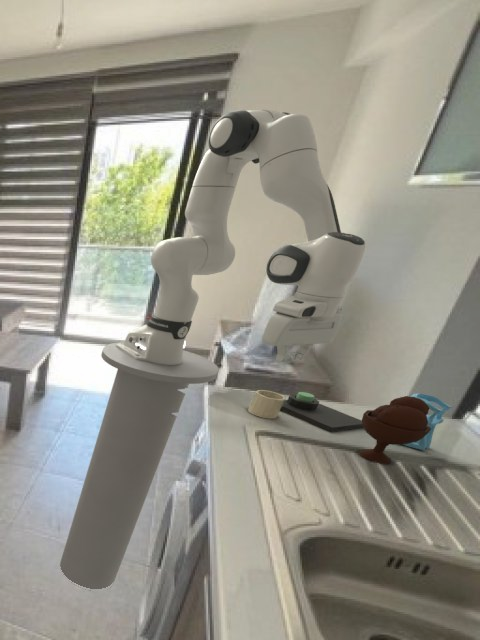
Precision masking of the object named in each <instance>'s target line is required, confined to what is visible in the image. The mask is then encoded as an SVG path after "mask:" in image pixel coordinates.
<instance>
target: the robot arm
mask: <svg viewBox="0 0 480 640" xmlns="http://www.w3.org/2000/svg"><path fill="white" fill-rule="evenodd" d="M208 148H209V149H208V150H207V151H206V152H205V154H204V156H203V157H202V160H201V162H200V164H199V166H198V169H197V171H196V174H195V177H194V179H193V182H192V185H191V186H192V187H191V189H190V193H189V196H188V199H187V203H186V207H185V210H184V216H185V219H186V220H187V221H188V222H189V223H190V224H191V228H192V237H187V236H186V237H184V236H178V237H172V238H167V239H164V240H162V241H159V242H158V243H157V245H156V246H155V247H154V249H153V250H152V253H151V257H150V263H151V266H152V269H153V270H154V271H155V272H156V274H157V275H158V279H159V295H158V299H157V303H156V306H155V309H154V313H153V314H152V315H147V317H145V320H147V322H146V324H143V325H142V326H140V327H137V328H135V329H132V330H131V331H129V332H128V334H127V335H126V337H125V339H124V341H122V342H123V343H118V342H117V343H118V344H117V345H116V347H117V348H118V349H120V350H121V351H123V352H125V353H126V354H128V355H129V356H131V357H132V358H134V359H136V360H139V361H147V362H151V363H156V364H163V365H178V364H181V363H182V354H183V350H184V349H185V348H186V338H187V335H188V333H189V332H190V330H191V326H192V324H193V321H192V319H193V316H194V313H195V311H196V307H197V305H198V302H199V294H198V292H197V290H195V289H193V285H192V280H193V276H210V275H215V274H219V273H222V272H225V271H226V270H227V269H229V268H230V267H231V265H232V264H233V262H234V260H235V257H236V248H235V246H234V244H233V242H232V241H231V240H230V237H229V232H228V216H229V211H230V208H231V204H232V201H233V198H234V195H235V191H236V187H237V185H238V181H239V178H240V175H241V172H242V170H243V169H244V167H245V166H246V165H247V164H248V163H250V162H252V163H253V164H254V165H255V164H259V180H260V185H261V189H262V192H263V194H264V195H265V197H267V198H268V199H270V200H271V201H273V202H276V203H278V204H280V205H283V206H285V207H287V208H289V209H291V210H292V211H294V212H295V213H297V214H298V215H299V217H300V218H301V219H302V221H303V225H304V229H305V234H306V238H307V241H304V242H300V243H293V244H287V245H284V246H281V247H279V248H278V249H277V250H275V251H274V252H273V253H272V255H271V256H270V257H269V259H268V261H267V264H266V275H267V278H268V279H269V281H270V282H272V283H274V284H278V285H282V286H297V289H296V291H295V293H294V294H293V295H291V296H289V297H287V298H285V299H281V300H280V301H277V302H275V304H274V306H273V309H272V310H273V312H274V313H273V314H272V315H271V316H270V317H269V319H268V321H267V323H266V326H265V328H264V331H263V332H262V336H261V340H262V343H263V344H266V345H268V346H271V347H276V351H277V355H276V356H275V361H277V362H279V363H283V362H287V360H288V358H289V356H290V355H289V354H288V350H290V348H291V347H292V346H299V347H298V348H297V350H296V351H294V352H292V354H291V357H290V359H291V360H292V361H296V362H298V361H302V360H303V359H304V357H305V355H306V354H307V353H308V352H309V351H310V350H312V348H313V346H314V345H317V344H319V345H320V344H330V343H332V342H333V341H334V340H335V339H336V336H337V334H338V332H339V329H340V327H341V324H342V321H343V315H342V314H343V312H344V310H343V308H342V306H341V304H342V301H343V299H344V297H345V294H346V288H347V286H348V285H349V283H350V282H351V281H352V280H353V279H354V277H355V275H356V273H357V271H358V269H359V266H360V264H361V262H362V260H363V256H364V254H365V251H366V241H365V240H364V239H363V238H362V237H360V236H358V235H355V234H353V233H352V234H351V233H346V232H342V230H341V226H340V221H339V218H338V214H337V208H336V205H335V200H334V197H333V193H332V191H331V189H330V187H329V184H328V183H327V182H326V180H325V177H324V175H323V172H322V169H321V166H320V162H319V154H318V145H317V139H316V136H315V131H314V127H313V125H312V123H311V120H310V118H309V117H308V116H307V115H305V114H303V113H289V112H285V111H283V112H280V111H277V110H276V111H275V110H270V109H260V110H258V109H257V110H256V109H255V110H252V109H251V110H250V109H249V110H245V109H238V110H237V109H235V110H232V111H228V112H227V113H224V114H223V115H221V116H220V117H219V118H218V119H217V120H216V122H215V123H214V124H213V126H212V128H211V130H210V132H209V135H208Z"/></svg>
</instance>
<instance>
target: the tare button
mask: <svg viewBox="0 0 480 640" xmlns="http://www.w3.org/2000/svg"><path fill="white" fill-rule="evenodd" d="M296 394H297V396H296V399H299V400H301V401H305V402H312V401H313V399H315V395H314V394H312V393H309V392H306V391H298V393H296Z"/></svg>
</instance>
